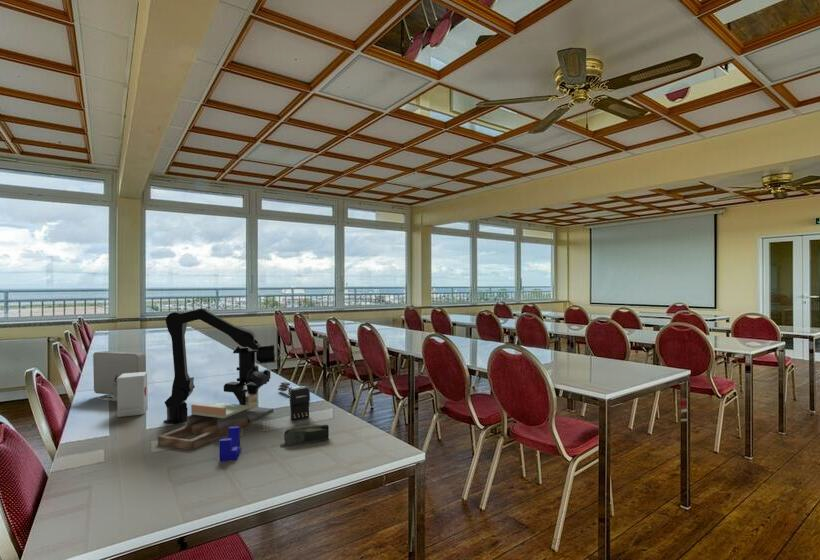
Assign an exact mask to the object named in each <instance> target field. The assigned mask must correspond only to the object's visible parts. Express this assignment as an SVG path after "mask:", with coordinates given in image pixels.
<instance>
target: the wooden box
mask: <svg viewBox="0 0 820 560" xmlns="http://www.w3.org/2000/svg"><path fill="white" fill-rule="evenodd" d="M236 426H240V429H241V428H243V427H246V426H248V421H247V409H246V410H243V411H241V412H238V413H236V414H233V415H231V416H228V417H226V418H217V417H209V416H201V415H193V414H189V415H188V416H187V420H186V425H184V426H181V427H179V428H177V429H173V430H171V431H168V432H166V433H164V434H161V435H158V436H157V445H158V444H160V446H165V447H171V448H179V449H185V450H190V451H191V450H195V449H197V448H199V447H201V446H203V445H206V444H208V443H210V441H211V442H212V440H213V441H215V440H217V439H219V438H221V436H222V437H224V436H226V435H228V428H229V427H236ZM192 434H194V435H197V436H195V437H193V438H191V439H189V438H187V439H186V438H184V437H186V436H188V435H192ZM199 434H200V435H199ZM214 439H215V440H214Z"/></svg>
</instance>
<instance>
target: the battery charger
mask: <svg viewBox="0 0 820 560" xmlns="http://www.w3.org/2000/svg"><path fill="white" fill-rule="evenodd" d="M310 391H311V390H310V388H308V387H307V386H295V387H292V389H291V390H290V397H289V409H290V410H289V411H290V412H289V413H290V417H289V419H290V420H292V421H298V420H299V419H300V420H305V419H308V418H310V402H311V394H310V393H311V392H310Z"/></svg>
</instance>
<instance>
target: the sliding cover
mask: <svg viewBox="0 0 820 560" xmlns="http://www.w3.org/2000/svg"><path fill="white" fill-rule="evenodd" d="M190 407H191V411H190V412H191V414H190V415H192V414H193V415H201V416H209V417H217V418H226V417H228V416H231V415H233V414H236V413H238V412H241V411H243V410H246V409H248V408H249V406H246V405H239V404H235V403H227V402H216V403H213V404H210V405H208V404H200V403H199V404H198V403H192V404H191V405H190Z"/></svg>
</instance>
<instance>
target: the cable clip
mask: <svg viewBox="0 0 820 560" xmlns="http://www.w3.org/2000/svg"><path fill="white" fill-rule="evenodd" d="M227 435H228V436H227V438H220V439H219V441H218V442H219V443H218V445H219V446H218V447H219V448H218V449H219V454H218V455H219V462H220V461H221V462H230V460H234V461H237V460H238V458H239V457H240V455H241V453H242V448H241V447H240V446H241V428H240V426H236V427H229V428H228V434H227ZM239 454H240V455H239Z"/></svg>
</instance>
